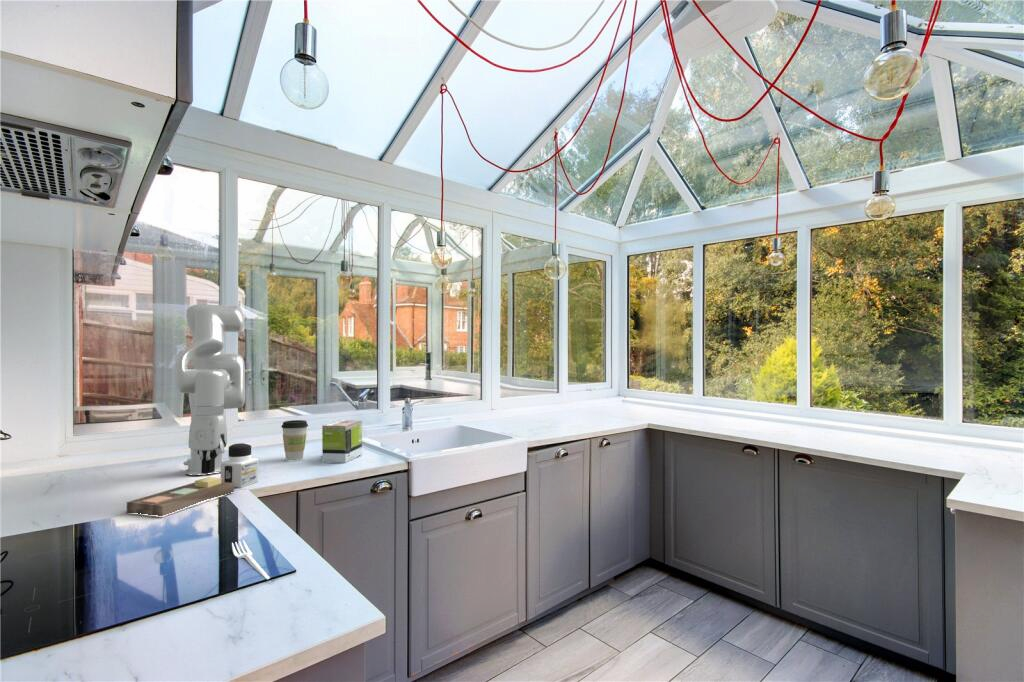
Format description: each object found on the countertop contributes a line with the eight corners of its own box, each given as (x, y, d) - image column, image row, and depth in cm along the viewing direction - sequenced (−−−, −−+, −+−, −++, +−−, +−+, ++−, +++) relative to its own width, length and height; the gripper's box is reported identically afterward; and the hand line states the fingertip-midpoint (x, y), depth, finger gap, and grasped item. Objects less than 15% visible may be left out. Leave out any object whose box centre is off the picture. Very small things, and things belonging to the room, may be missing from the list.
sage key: (169, 503, 137) (169, 492, 137) (184, 498, 142) (185, 488, 142) (183, 504, 136) (183, 493, 136) (198, 499, 141) (198, 489, 141)
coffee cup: (301, 462, 190) (301, 423, 190) (276, 461, 190) (276, 423, 190) (311, 456, 200) (312, 420, 200) (287, 456, 200) (288, 419, 200)
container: (241, 488, 154) (241, 446, 154) (219, 486, 155) (220, 445, 155) (258, 481, 161) (259, 442, 161) (238, 480, 163) (238, 441, 163)
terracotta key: (141, 512, 129) (141, 501, 129) (158, 506, 134) (158, 495, 134) (155, 513, 128) (155, 502, 128) (172, 508, 133) (172, 497, 133)
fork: (259, 586, 91) (259, 576, 91) (229, 551, 106) (229, 543, 106) (277, 580, 94) (277, 570, 94) (245, 547, 108) (245, 539, 108)
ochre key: (194, 491, 145) (194, 480, 145) (208, 486, 150) (208, 477, 150) (207, 492, 144) (207, 482, 144) (221, 488, 148) (221, 478, 148)
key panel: (126, 513, 129) (126, 502, 129) (201, 489, 151) (202, 480, 152) (162, 517, 126) (162, 505, 126) (233, 492, 148) (233, 482, 148)
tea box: (340, 454, 204) (340, 419, 205) (362, 455, 203) (363, 419, 203) (321, 462, 190) (321, 424, 190) (345, 463, 188) (346, 425, 188)
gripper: (178, 411, 145) (176, 473, 145) (219, 413, 141) (217, 477, 141) (200, 409, 152) (199, 468, 152) (239, 410, 149) (238, 471, 148)
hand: (208, 472), depth 146 cm, fingers closed
